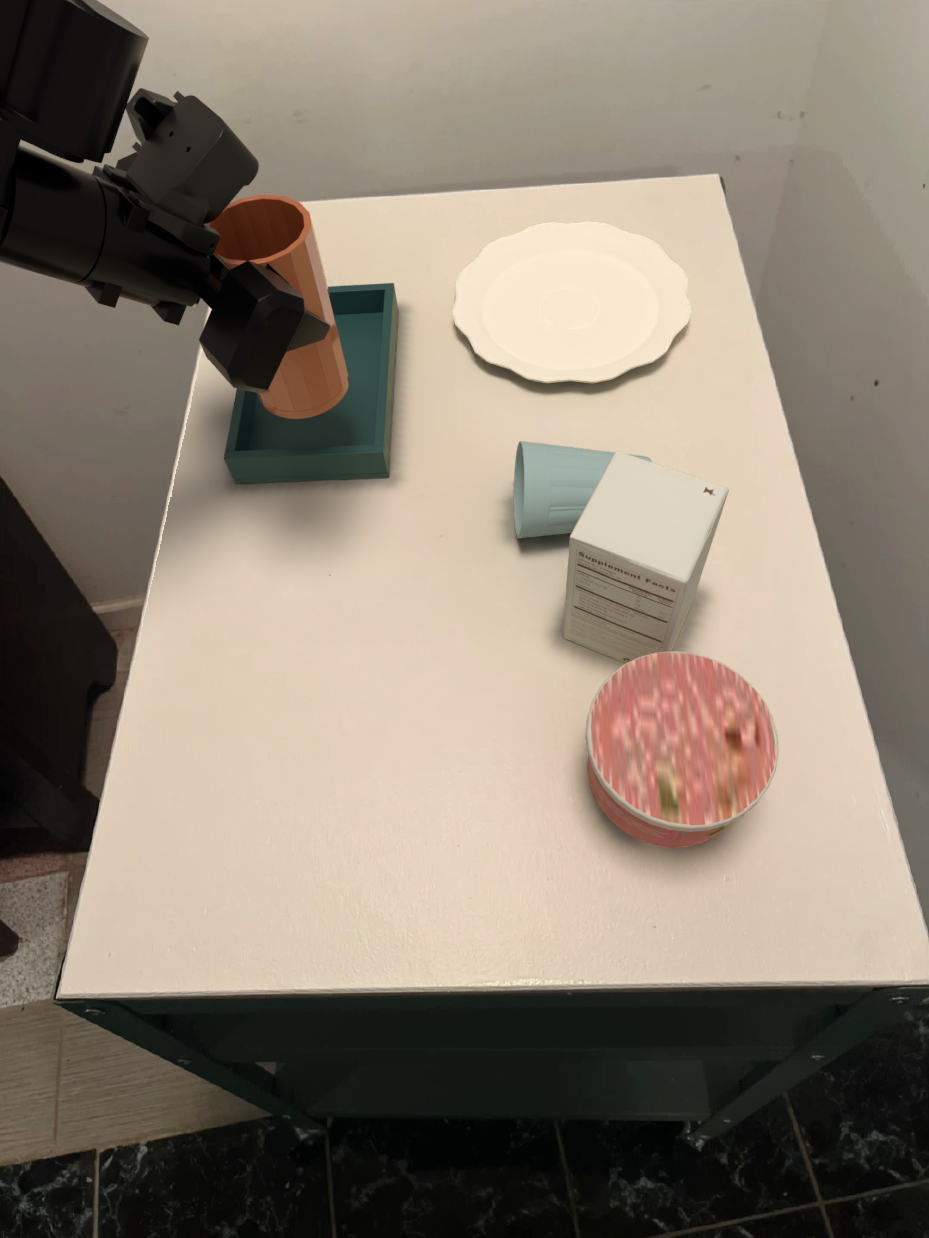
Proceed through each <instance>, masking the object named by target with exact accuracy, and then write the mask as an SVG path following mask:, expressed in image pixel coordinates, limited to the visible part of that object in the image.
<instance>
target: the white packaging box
mask: <svg viewBox="0 0 929 1238" xmlns="http://www.w3.org/2000/svg"><path fill="white" fill-rule="evenodd" d="M628 454H629V453H624V452H621V451H615V454H614V455H613V457H612V459H611V461H610V462H609V464H608V466H607V468H606V469H605V471H604V473H603V475H602V477H601V479H600V481H599V482H598V484H597V486H596V488H595V490H594V492H593V494H592V495H591V497H590V499H589V501H588V503H587V505H586V507H585V508H584V510H583V512H582V514H581V516H580V518H579V520H578V522H577V523H576V525H575V527H574V529H573V531H572V533H570V536H569V543H568V544H569V545H568V556H567V557H568V558H567V559H568V560H567V571H566V572H567V573H566V584H565V601H564V603H565V604H564V614H563V615H564V618H563V635H562V636H563V638H564V639H567V640H568V641H571V642H573V643H575V644H577V645H580V646H583V647H585V648H588V649H590V650H592V651H595V652H598V653H600V654H602V655H604V656H607V657H609V658H612V659H614V660H617V661H619V662H621V663H624V664H626V663H628V662H630V661H632V660H634V659H636V658H638V657H641V656H645V655H649V654H652V653H657V652H669V651H673V649H674V646H675V644H676V642H677V640H678V638H679V635H680V633H681V631H682V629H683V626H684V624H685V621H686V619H687V617H688V614H689V612H690V609H691V607H692V604H693V602H694V599H695V597H696V593H697V590H698V586H699V584H700V581H701V578H702V575H703V572H704V569H705V566H706V562H707V560H708V556H709V553H710V551H711V547H712V544H713V542H714V541H713V540H714V537H715V535H716V532H717V529H718V526H719V522H720V519H721V516H722V513H723V510H724V507H725V503H726V502H727V498H728V495H729V491H730V489H729V487H726V486H723V485H720V484H717V483H714V482H712V481H709V480H706V479H704V478H701V477H698V476H694V475H691V474H688V473H685V472H683V471H679V470H677V469H673V468H669V467H667V466H664V465H661V464H658V463H655V462H653V461H652V462H649V461H646V460H643V459H640V458H637V457H634V456H631V455H628Z"/></svg>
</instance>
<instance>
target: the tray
mask: <svg viewBox="0 0 929 1238" xmlns="http://www.w3.org/2000/svg"><path fill="white" fill-rule="evenodd" d="M328 290H329V294H330V298H331V302H332V306H333V310H334V314H335V318H336V322H337V326H338V330H339V335H340V339H341V343H342V347H343V351H344V355H345V359H346V363H347V369H348V374H349V386H348V390H347V392H346V394H345V395H344V397H343V398H342V399H341V401H340V402H339V403H338V404H336V405H335V406H334V407H333V408H331V409H330V410H328V411H326V412H324V413H322V414H320V415H317V416H314V417H309V418H303V419H289V418H283V417H280V416H277V415H275V414H273V413H271V412H269V411H268V410H267V409H266V408H265V407H264V406H263V405H262V404H261V402H260V400H259V397H258V395H257V393H255V392H251V391H246V390H242V389H237V388H236V390H235V396H234V401H233V405H232V411H231V417H230V423H229V426H228V427H229V428H228V434H227V439H226V444H225V450H224V455H223V461H224V463H225V465H226V467H227V469H228V471H229V473H230V476H231V477H232V480H233V482H234V484H235V485H240V484H262V483H263V484H266V483H267V484H268V483H285V482H286V483H288V482H290V483H291V482H311V481H312V482H313V481H335V480H337V481H338V480H356V479H357V480H358V479H359V480H360V479H381V478H383V479H385V478H389V477H390V463H391V448H392V447H391V446H392V428H393V415H394V414H393V413H394V397H395V378H396V376H395V375H396V363H397V361H396V360H397V342H398V328H399V327H398V325H399V305H398V299H397V293H396V287H395V283H394V282H384V283H367V284H351V285H350V284H349V285H348V284H347V285H329V286H328Z"/></svg>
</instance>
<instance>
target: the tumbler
mask: <svg viewBox="0 0 929 1238" xmlns="http://www.w3.org/2000/svg"><path fill="white" fill-rule="evenodd" d="M204 225H206V226H209V227H211V228H214V229H215V230H216V231H217V232H218V233H219V234H220V235H221V237H220V240H219V242H218V245H217V247H216V249H215V253H216V254H217V255H218V256H219V257H220V258H221V259H222V260H223V261H224V262H225V263H226V264H227V265H228V266H229V267H230V268H231V269H232V268H234V267H236V266H238V265H240V264H242V263H244V262H246V261H251V262H254V263H256V264H259V265H262V266H264V267H265V268H266V265H267V264H269V265H270V266H271V267H273V268H274V269H275V270H276V271H277V272H278V273H279V274H280V275H281V276H282V277H283V278H284V279H285V280H286V281H287V282H288V283H289V284H290V285H291V287H292V288H293V289H294V290H295V291H296V292H297V293H298V294H299V295H300V296H301V297H302V298H304V308H305V309H307V310H309V311H310V312H312V313H314V314H315V315H317V316H318V317H320V318H322V319H323V320H325V321H326V322H328V323H329V324H330V330H329V332H328V334H327V336H326V337H325V339H323V340H321V341H318V342H315V343H312V344H309V345H306V346H303V347H300V348H297V349H294V350H291V351H288V352H286V353H285V355H284V357H283V359H282V362H281V364H280V366H279V368H278V370H277V372H276V374H275V376H274V378H273V380H272V382H271V385H270V387H269V389H268V390H267V391H264V392H261V393H257V395H258V397H259V400H260V402H261V404H262V405H263V406H264V407H265V408H266V409H267V410H268V411H269V412H271V413H273V414H275V415H277V416H280V417H283V418H289V419H303V418H309V417H314V416H317V415H320V414H322V413H324V412H326V411H328V410H330V409H331V408H333V407H334V406H335V405H336V404H338V403H339V402H340V401H341V399H342V398H343V397H344V395H345V394H346V392H347V390H348V386H349V374H348V369H347V363H346V359H345V355H344V351H343V347H342V343H341V339H340V335H339V330H338V326H337V322H336V318H335V314H334V310H333V306H332V302H331V298H330V294H329V290H328V287H329V286H328V282H327V278H326V274H325V269H324V265H323V262H322V257H321V253H320V249H319V245H318V241H317V237H316V232H315V229H314V225H313V220H312V217H311V213H310V212H309V210H308V209H306V207H305V206H304V205H303V204H302V203H301V202H300V201H298V200H295V199H293V198H290V197H287V196H285V195H278V194H259V195H258V194H257V195H252V196H246V197H245V196H244V197H241V198H238V199H237V200H234V201H231V202H230V203H229V204H228V206H227V207H226V208H225V209H224V210H223V212H222V213H221V214H220V215H219V216H218V217H217V218H216V219H215V220H214V221H212V222H210V223H207V224H204Z"/></svg>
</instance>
